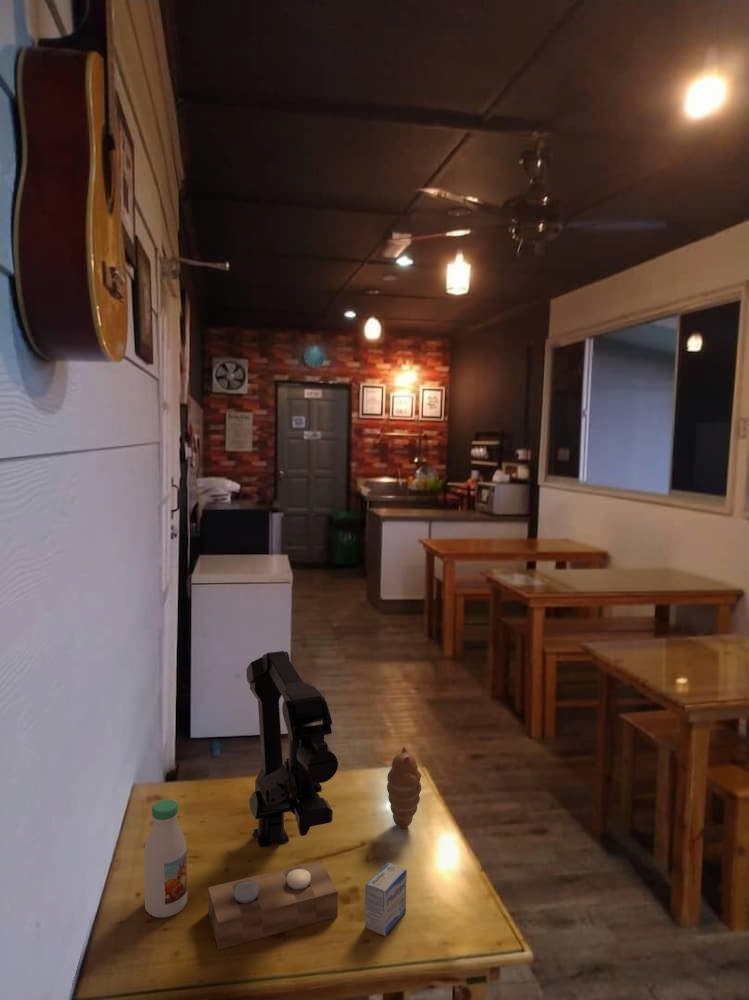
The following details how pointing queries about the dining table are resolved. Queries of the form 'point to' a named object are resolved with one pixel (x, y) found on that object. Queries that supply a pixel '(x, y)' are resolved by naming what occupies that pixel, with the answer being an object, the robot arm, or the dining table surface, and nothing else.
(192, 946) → the dining table surface
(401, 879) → the medicine box
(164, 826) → the milk bottle
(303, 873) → the cream peg
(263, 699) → the robot arm
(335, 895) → the walnut block
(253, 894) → the grey peg
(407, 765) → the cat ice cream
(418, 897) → the dining table surface
